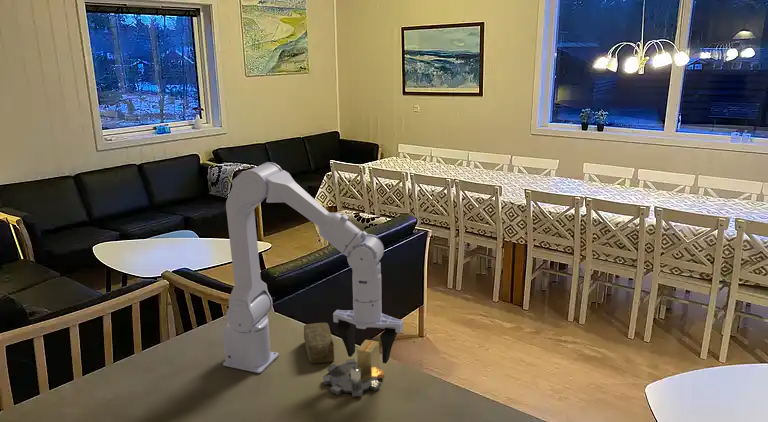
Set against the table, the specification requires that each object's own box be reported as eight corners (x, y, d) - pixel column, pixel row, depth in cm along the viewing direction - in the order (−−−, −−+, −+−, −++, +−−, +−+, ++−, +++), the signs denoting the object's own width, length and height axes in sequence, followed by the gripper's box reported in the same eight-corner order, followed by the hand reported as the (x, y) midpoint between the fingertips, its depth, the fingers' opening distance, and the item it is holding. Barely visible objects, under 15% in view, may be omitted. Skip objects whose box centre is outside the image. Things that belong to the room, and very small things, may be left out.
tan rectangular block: (357, 376, 111) (357, 349, 110) (366, 364, 115) (365, 339, 114) (371, 378, 110) (371, 352, 109) (379, 367, 114) (379, 341, 113)
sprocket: (325, 399, 105) (324, 379, 104) (321, 365, 117) (320, 347, 116) (388, 392, 107) (388, 372, 106) (378, 359, 119) (378, 341, 118)
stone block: (309, 367, 117) (308, 346, 116) (303, 341, 128) (302, 322, 127) (336, 363, 119) (335, 342, 117) (328, 338, 130) (327, 319, 128)
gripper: (325, 299, 107) (328, 361, 111) (395, 310, 102) (395, 374, 106) (340, 286, 113) (342, 344, 117) (406, 295, 109) (406, 356, 112)
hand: (368, 357), depth 112 cm, fingers open, 7 cm apart
